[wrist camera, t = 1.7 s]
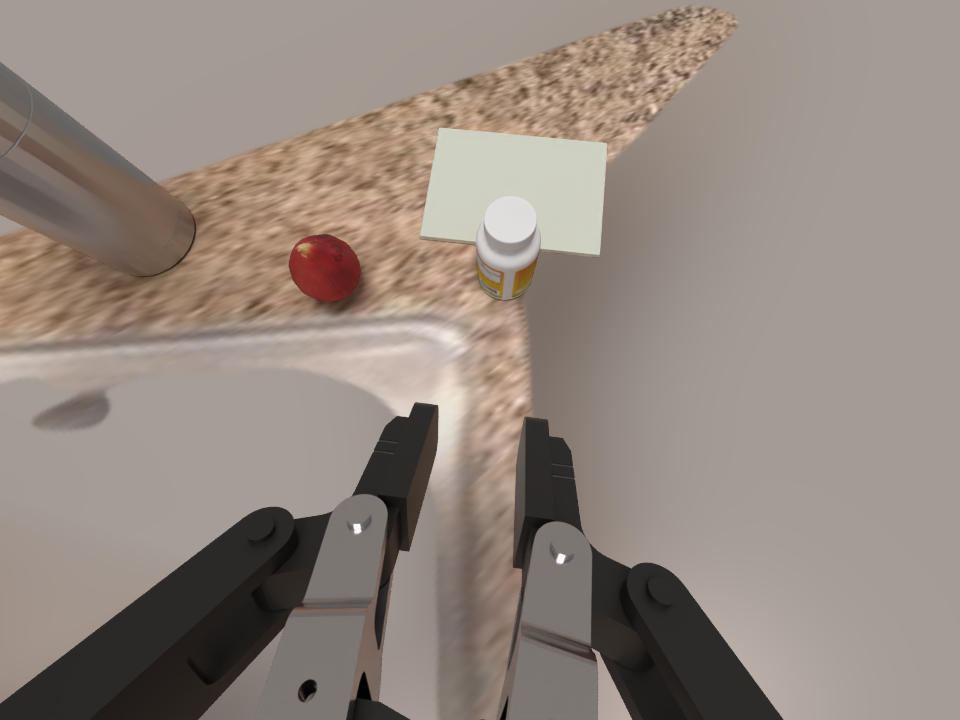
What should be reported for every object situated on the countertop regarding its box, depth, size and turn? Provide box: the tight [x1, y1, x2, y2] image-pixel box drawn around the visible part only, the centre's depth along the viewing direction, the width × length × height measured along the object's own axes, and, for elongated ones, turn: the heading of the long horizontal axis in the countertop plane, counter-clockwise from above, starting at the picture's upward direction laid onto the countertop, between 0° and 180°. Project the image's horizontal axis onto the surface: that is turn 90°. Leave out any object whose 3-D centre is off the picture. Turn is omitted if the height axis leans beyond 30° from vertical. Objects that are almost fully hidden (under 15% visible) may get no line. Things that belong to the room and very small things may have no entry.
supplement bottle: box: [476, 196, 541, 300], centre depth 32 cm, size 5×5×10 cm
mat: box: [420, 128, 607, 258], centre depth 39 cm, size 18×13×1 cm
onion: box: [289, 234, 361, 302], centre depth 33 cm, size 6×6×8 cm
